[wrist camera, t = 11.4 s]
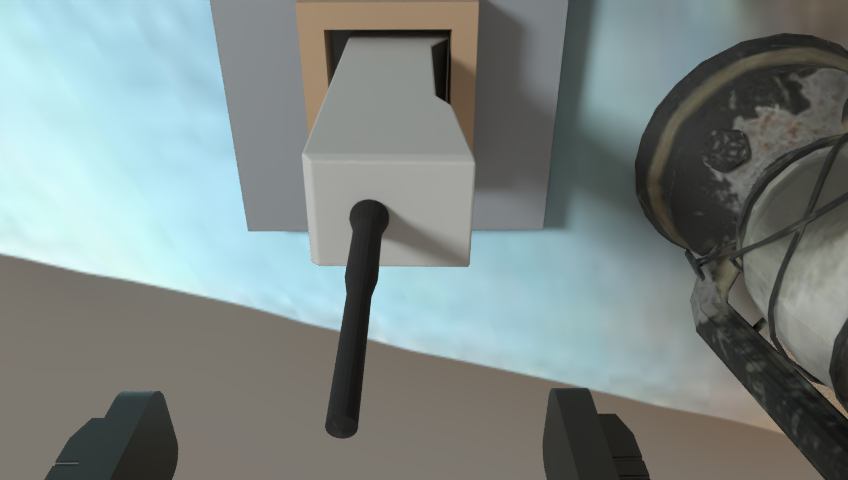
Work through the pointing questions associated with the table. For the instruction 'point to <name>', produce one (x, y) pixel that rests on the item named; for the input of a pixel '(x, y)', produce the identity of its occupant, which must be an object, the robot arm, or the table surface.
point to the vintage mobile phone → (384, 183)
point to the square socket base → (467, 93)
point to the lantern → (764, 222)
